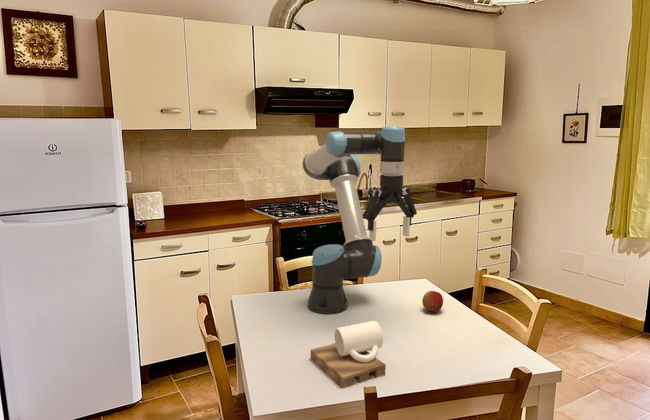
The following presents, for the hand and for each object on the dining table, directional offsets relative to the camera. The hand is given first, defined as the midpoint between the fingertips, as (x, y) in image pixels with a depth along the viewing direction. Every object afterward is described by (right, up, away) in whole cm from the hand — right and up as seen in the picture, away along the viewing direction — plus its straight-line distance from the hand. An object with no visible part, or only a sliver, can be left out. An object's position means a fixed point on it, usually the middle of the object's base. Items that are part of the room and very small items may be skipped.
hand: (389, 238), depth 157 cm
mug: (-5, -29, -19) cm, 35 cm away
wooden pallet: (-15, -36, -21) cm, 44 cm away
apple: (+19, -29, +19) cm, 39 cm away
